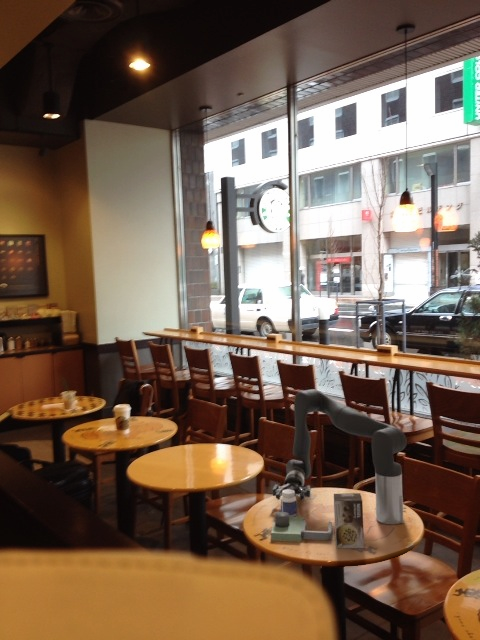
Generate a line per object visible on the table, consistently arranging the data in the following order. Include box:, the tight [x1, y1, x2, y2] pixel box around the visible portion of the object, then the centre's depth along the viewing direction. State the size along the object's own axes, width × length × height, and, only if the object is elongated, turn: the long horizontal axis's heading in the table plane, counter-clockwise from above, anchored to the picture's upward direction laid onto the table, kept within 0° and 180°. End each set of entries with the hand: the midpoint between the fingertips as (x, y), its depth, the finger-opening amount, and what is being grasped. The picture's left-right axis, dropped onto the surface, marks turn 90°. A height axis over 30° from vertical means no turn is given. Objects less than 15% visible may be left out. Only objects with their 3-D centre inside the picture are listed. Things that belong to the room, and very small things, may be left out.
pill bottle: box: [280, 489, 298, 517], centre depth 214 cm, size 6×6×10 cm
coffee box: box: [333, 492, 365, 549], centre depth 191 cm, size 9×6×16 cm
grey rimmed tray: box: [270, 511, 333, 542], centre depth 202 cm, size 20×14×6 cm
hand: (289, 497), depth 217 cm, fingers open, 8 cm apart
